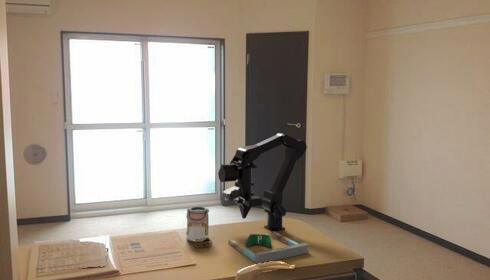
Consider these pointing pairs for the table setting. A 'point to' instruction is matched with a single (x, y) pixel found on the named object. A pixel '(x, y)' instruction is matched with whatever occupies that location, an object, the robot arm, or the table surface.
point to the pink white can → (197, 223)
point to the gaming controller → (259, 239)
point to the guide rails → (240, 248)
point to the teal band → (252, 255)
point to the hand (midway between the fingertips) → (243, 218)
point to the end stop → (281, 253)
